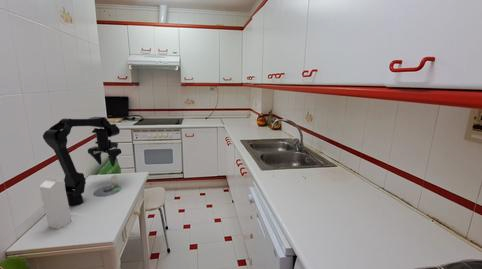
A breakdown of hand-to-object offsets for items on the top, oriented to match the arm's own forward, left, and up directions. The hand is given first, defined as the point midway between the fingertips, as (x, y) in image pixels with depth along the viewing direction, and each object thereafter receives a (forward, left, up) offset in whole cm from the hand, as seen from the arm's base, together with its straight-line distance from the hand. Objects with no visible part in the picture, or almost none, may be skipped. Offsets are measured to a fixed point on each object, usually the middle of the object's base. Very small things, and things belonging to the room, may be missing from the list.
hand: (106, 165), depth 138 cm
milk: (+7, -37, -13) cm, 40 cm away
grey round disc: (+5, -7, -13) cm, 16 cm away
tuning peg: (+5, -4, -12) cm, 13 cm away
